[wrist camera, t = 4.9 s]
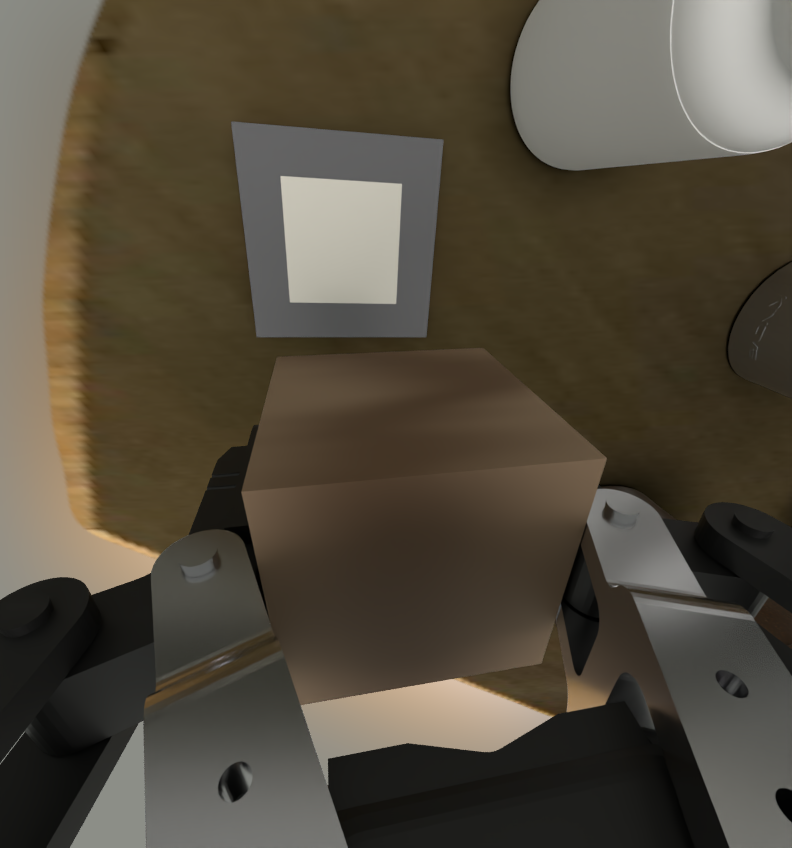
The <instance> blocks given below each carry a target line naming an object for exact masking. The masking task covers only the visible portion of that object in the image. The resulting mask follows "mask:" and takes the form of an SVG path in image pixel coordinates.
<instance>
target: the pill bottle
mask: <svg viewBox="0 0 792 848" xmlns="http://www.w3.org/2000/svg"><path fill="white" fill-rule="evenodd" d="M510 93H511V105H512V111H513V116H514V120H515V123H516V126H517V129H518V131H519V134H520V136H521V138H522V140H523V141H524V143H525V144H526V146H527V147H528V148H529V150H530V151H531V152H532V153H533V154H534V155H535V156H536V157H537V158H539V159H540V160H541V161H543V162H544V163H546V164H548V165H550V166H553V167H556V168H560V169H565V170H589V169H600V168H610V167H621V166H632V165H642V164H653V163H664V162H674V161H685V160H696V159H707V158H717V157H728V156H738V155H747V154H754V153H760V152H765V151H769V150H773V149H776V148H779V147H782V146H784V145H787V144H789V143H791V142H792V0H539V1H538V3H537V4H536V6H535V7H534V9H533V11H532V12H531V14H530V16H529V18H528V20H527V22H526V24H525V26H524V28H523V30H522V33H521V35H520V38H519V41H518V44H517V47H516V51H515V55H514V59H513V65H512V72H511V85H510Z"/></svg>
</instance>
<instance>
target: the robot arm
mask: <svg viewBox="0 0 792 848" xmlns="http://www.w3.org/2000/svg"><path fill="white" fill-rule="evenodd" d="M728 356H729V361H730V364H731V367H732V368H733V370H734V371H735V372H736V374H737V375H739V376H741V377H742V378H744V379H746V380H749V381H751V382H753V383H756V384H758V385H761V386H763V387H765V388H768V389H770V390H772V391H775V392H777V393H780V394H782V395H784V396H787V397H789V398H792V262H791V263H789V264H788V265H786V266H784V267H783V268H781V269H780V270H778V271H777V272H775V273H774V274H773V275H772V276H771V277H769V278H768V279H767V280H766V281H765V282H764V283H763V284H762V285H761V286H760V287H759V288H758V289H757V290H756V291H755V292H754V293H753V294H752V296H751V297H750V298H749V300H748V301H747V303H746V304H745V305H744V307H743V308H742V310H741V312H740V314H739V315H738V317H737V319H736V321H735V323H734V326H733V329H732V332H731V334H730V339H729V345H728ZM258 427H259V425H254V426H253V428H252V431H251V435H250V438H249V442H248V445H247V446H240V447H231V448H230V449H229V450H228V451H227V452H226V453H225V454H224V455H223V456H222V457H220V458H219V459H218V460H217V463H216V466H215V468H214V471H213V473H212V478H210V481H209V484H208V486H207V490H206V491H205V494H204V497H203V499H202V502H201V504H200V507H199V509H198V512H197V515H196V517H195V520H194V522H193V525H192V528H191V530H190V533H189V535H188V536H186V537H184V538H182V539H180V540H178V541H177V542H175V543H173V544H172V545H171V546H169V547H168V548H167V549H166V550H165V551H164V552H163V553H162V554H161V555H160V556H159V557H158V559H157V560H156V562H155V564H154V565H153V568H152V571H151V573H150V574H148V575H146V576H144V577H141V578H139V579H136V580H134V581H131V582H128V583H125V584H123V585H119V586H116V587H114V588H111V589H108V590H105V591H102V592H100V593H96V594H93V595H91V594H90V592H89V590H88V588H87V587H86V585H85V584H84V583H83V582H81V581H80V580H77V579H74V578H68V577H60V578H52V579H47V580H43V581H39V582H36V583H33V584H30V585H28V586H26V587H23V588H21V589H19V590H17V591H15V592H13V593H11V594H9V595H8V596H6V597H4V598H3V599H1V600H0V763H1V761H2V760H3V759H4V757H5V756H6V754H7V753H8V752H9V751H10V749H11V748H12V747H13V745H14V744H15V743H16V742H17V740H18V739H19V738H20V736H21V735H22V734H23V732H24V731H25V733H24V734H23V735H22V737H21V738H20V739H19V741H18V742H17V743H16V745H15V746H14V747H13V749H12V750H11V751H10V752H9V754H8V755H7V757H6V758H5V759H4V760H3V762H2V763H1V764H0V848H70V846H71V844H72V843H73V841H74V839H75V837H76V835H77V834H78V832H79V830H80V828H81V826H82V825H83V823H84V821H85V819H86V817H87V815H88V813H89V812H90V810H91V808H92V807H93V805H94V803H95V801H96V799H97V798H98V796H99V794H100V792H101V790H102V788H103V787H104V785H105V783H106V781H107V779H108V778H109V776H110V774H111V772H112V770H113V769H114V767H115V765H116V763H117V761H118V760H119V758H120V756H121V754H122V752H123V751H124V749H125V747H126V745H127V743H128V742H129V740H130V738H131V736H132V734H133V733H134V730H135V729H136V727H137V725H138V723H139V722H141V721H144V722H143V723H144V724H143V725H144V727H143V729H144V775H145V820H146V821H145V822H146V848H792V649H791V648H790V647H788V646H787V645H786V644H784V643H783V642H782V641H780V640H779V639H778V638H776V637H775V636H774V635H773V634H771V633H770V632H769V631H767V630H766V629H765V628H763V627H762V626H761V625H759V624H758V623H757V622H756V621H755V620H754V618H755V616H756V615H757V614H758V612H759V611H760V609H761V608H762V606H763V605H764V603H765V602H766V601H767V599H768V598H770V599H772V600H773V601H775V602H776V603H778V604H779V605H780V606H782V607H783V608H785V609H786V610H788V611H789V612H790V613H792V528H791V527H790V526H788V525H786V524H784V523H782V522H781V521H779V520H777V519H775V518H773V517H771V516H770V515H768V514H766V513H763V512H761V511H759V510H756V509H753V508H750V507H747V506H744V505H739V504H735V503H724V502H721V503H714V504H711V505H709V506H708V507H707V508H706V509H705V511H704V513H703V515H702V517H701V519H700V521H699V523H697V522H689V521H681V520H673V519H664V518H661V517H660V515H659V514H658V512H657V511H656V510H655V509H654V508H653V507H652V506H650V505H649V504H648V503H646V502H645V501H643V500H641V499H640V498H638V497H636V496H633V495H631V494H628V493H625V492H622V491H618V490H613V489H602V487H601V486H600V485H598V488H597V491H596V494H595V497H594V501H593V504H592V507H591V510H590V513H589V516H588V519H587V522H586V526H585V529H584V532H583V535H582V538H581V541H580V544H579V547H578V550H577V554H576V557H575V560H574V563H573V566H572V569H571V572H570V575H569V579H568V582H567V585H566V588H565V591H564V594H563V597H562V600H561V604H560V607H559V610H558V613H557V616H556V623H557V629H558V634H559V640H560V646H561V651H562V657H563V662H564V668H565V674H566V679H567V687H568V704H567V712H566V713H561V714H557V715H556V716H554V717H552V718H551V719H549V720H547V721H546V722H544V723H542V724H541V725H539V726H538V727H536V728H534V729H533V730H531V731H529V732H528V733H526V734H524V735H523V736H521V737H519V738H518V739H516V740H514V741H513V742H511V743H509V744H508V745H506V746H504V747H503V748H501V749H499V750H497V751H494V752H477V751H468V750H460V749H452V748H442V747H434V746H426V745H417V744H409V743H407V744H402V745H397V746H392V747H387V748H381V749H376V750H371V751H366V752H361V753H356V754H350V755H346V756H340V757H335V758H330V759H328V783H329V785H327V784H326V780H325V778H324V774H323V771H322V768H321V765H320V762H319V759H318V757H317V753H316V750H315V748H314V745H313V742H312V738H311V735H310V732H309V729H308V726H307V723H306V720H305V717H304V714H303V711H302V709H301V705H300V702H299V699H298V696H297V693H296V690H295V687H294V684H293V681H292V678H291V675H290V672H289V669H288V666H287V663H286V660H285V657H284V654H283V651H282V648H281V645H280V643H279V640H278V638H277V636H274V633H273V630H272V627H271V624H270V620H269V615H268V611H267V606H266V602H265V597H264V593H263V588H262V583H261V579H260V574H259V570H258V565H257V561H256V556H255V552H254V547H253V543H252V538H251V533H250V529H249V524H248V520H247V515H246V511H245V506H244V502H243V497H242V492H241V491H242V488H243V484H244V480H245V476H246V472H247V469H248V465H249V461H250V457H251V454H252V450H253V446H254V442H255V438H256V435H257V431H258Z"/></svg>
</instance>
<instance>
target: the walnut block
mask: <svg viewBox="0 0 792 848" xmlns="http://www.w3.org/2000/svg"><path fill="white" fill-rule="evenodd" d="M606 460H607V458H606V457H605V456H604V455H603V454H602V453H601V452H599V451H598V450H597V449H596V448H595V447H594V446H593V445H592V444H590V443H589V442H588V441H587V440H586V439H585V438H584V437H583V436H582V435H580V434H579V433H578V432H577V431H576V430H575V429H574V428H573V427H571V426H570V425H569V424H568V423H567V422H566V421H565V420H564V419H562V418H561V417H560V416H559V415H558V414H557V413H556V412H555V411H553V410H552V409H551V408H550V407H549V406H548V405H547V404H546V403H544V402H543V401H542V400H541V399H540V398H539V397H538V396H537V395H536V394H534V393H533V392H532V391H531V390H530V389H529V388H528V387H527V386H525V385H524V384H523V383H522V382H521V381H520V380H519V379H518V378H516V377H515V376H514V375H513V374H512V373H511V372H510V371H509V370H507V369H506V368H505V367H504V366H503V365H502V364H501V363H500V362H498V361H497V360H496V359H495V358H494V357H493V356H492V355H491V354H490V353H488V352H487V351H486V350H485V349H484V348H466V349H443V350H420V351H397V352H374V353H351V354H328V355H305V356H282V357H277V359H276V362H275V366H274V370H273V374H272V378H271V381H270V385H269V389H268V393H267V397H266V400H265V404H264V408H263V412H262V416H261V419H260V423H259V427H258V431H257V435H256V438H255V442H254V446H253V450H252V454H251V457H250V461H249V465H248V469H247V472H246V476H245V480H244V484H243V488H242V491H241V492H242V497H243V502H244V506H245V511H246V515H247V520H248V524H249V529H250V533H251V538H252V543H253V547H254V552H255V556H256V561H257V565H258V570H259V574H260V579H261V583H262V588H263V593H264V597H265V602H266V606H267V611H268V615H269V620H270V624H271V627H272V630H273V633H274V636H277V638H278V640H279V643H280V645H281V648H282V651H283V654H284V657H285V660H286V663H287V666H288V669H289V672H290V675H291V678H292V681H293V684H294V687H295V690H296V693H297V696H298V699H299V702H300V705H304V704H310V703H315V702H321V701H327V700H333V699H339V698H344V697H350V696H355V695H362V694H367V693H373V692H379V691H385V690H391V689H396V688H402V687H407V686H414V685H419V684H425V683H431V682H437V681H443V680H448V679H454V678H460V677H466V676H471V675H477V674H483V673H489V672H495V671H500V670H506V669H512V668H518V667H523V666H529V665H535V664H541V663H542V660H543V657H544V654H545V650H546V647H547V644H548V641H549V638H550V635H551V632H552V629H553V625H554V622H555V619H556V616H557V613H558V610H559V607H560V604H561V600H562V597H563V594H564V591H565V588H566V585H567V582H568V579H569V575H570V572H571V569H572V566H573V563H574V560H575V557H576V554H577V550H578V547H579V544H580V541H581V538H582V535H583V532H584V529H585V526H586V522H587V519H588V516H589V513H590V510H591V507H592V504H593V501H594V497H595V494H596V491H597V488H598V485H599V482H600V479H601V476H602V472H603V469H604V466H605V463H606Z"/></svg>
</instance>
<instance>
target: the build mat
mask: <svg viewBox="0 0 792 848" xmlns="http://www.w3.org/2000/svg"><path fill="white" fill-rule="evenodd" d="M231 124H232V133H233V141H234V150H235V158H236V166H237V175H238V183H239V192H240V200H241V208H242V217H243V225H244V234H245V242H246V250H247V259H248V267H249V276H250V284H251V292H252V301H253V309H254V318H255V326H256V335H257V337H426V336H427V324H428V313H429V301H430V290H431V278H432V267H433V255H434V244H435V232H436V221H437V209H438V198H439V186H440V175H441V163H442V152H443V140H441V139H430V138H418V137H406V136H395V135H383V134H371V133H360V132H348V131H336V130H324V129H313V128H301V127H289V126H278V125H266V124H254V123H243V122H231Z"/></svg>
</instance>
